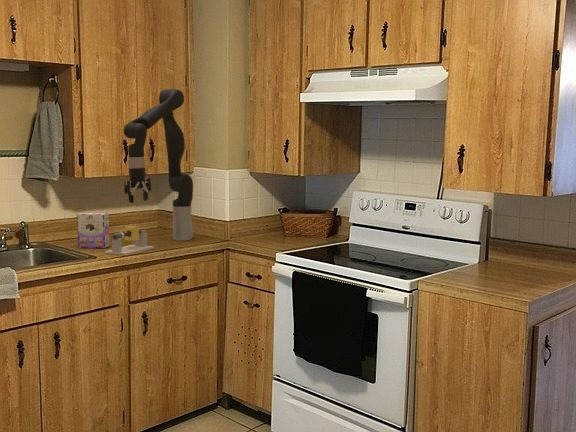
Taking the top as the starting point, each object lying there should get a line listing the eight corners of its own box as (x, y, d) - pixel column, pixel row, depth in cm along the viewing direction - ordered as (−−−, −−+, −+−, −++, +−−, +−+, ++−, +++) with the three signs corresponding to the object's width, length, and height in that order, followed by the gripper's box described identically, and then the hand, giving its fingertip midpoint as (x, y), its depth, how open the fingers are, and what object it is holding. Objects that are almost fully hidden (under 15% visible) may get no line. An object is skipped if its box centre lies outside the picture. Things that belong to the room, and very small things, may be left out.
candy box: (110, 246, 330) (109, 212, 328) (104, 248, 324) (103, 214, 322) (83, 245, 333) (82, 211, 331) (77, 247, 327) (76, 213, 325)
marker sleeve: (130, 238, 324) (129, 225, 323) (139, 239, 321) (138, 226, 320) (124, 239, 320) (124, 226, 319) (133, 240, 318) (133, 227, 317)
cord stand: (133, 246, 332) (133, 226, 330) (153, 248, 326) (153, 228, 325) (105, 253, 314) (104, 232, 313) (125, 255, 308) (125, 234, 307)
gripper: (142, 165, 327) (144, 199, 329) (119, 167, 315) (121, 202, 318) (154, 165, 322) (155, 200, 325) (130, 168, 311) (132, 204, 313)
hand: (138, 201), depth 321 cm, fingers open, 8 cm apart
